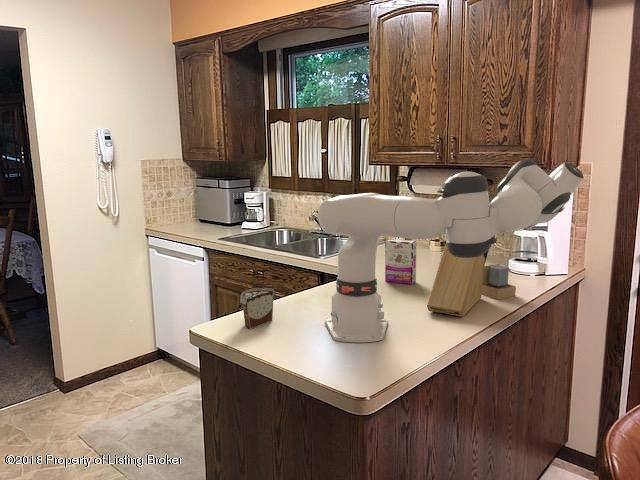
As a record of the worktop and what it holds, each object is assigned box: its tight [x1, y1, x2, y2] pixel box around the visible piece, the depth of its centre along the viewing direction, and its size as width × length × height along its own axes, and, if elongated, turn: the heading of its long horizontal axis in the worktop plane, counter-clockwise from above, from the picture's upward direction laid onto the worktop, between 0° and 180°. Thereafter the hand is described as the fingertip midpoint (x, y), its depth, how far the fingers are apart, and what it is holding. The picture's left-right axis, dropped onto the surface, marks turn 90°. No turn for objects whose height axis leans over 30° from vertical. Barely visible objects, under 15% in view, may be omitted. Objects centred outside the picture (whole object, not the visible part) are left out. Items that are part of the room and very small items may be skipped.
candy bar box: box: [384, 238, 417, 286], centre depth 204 cm, size 11×5×16 cm, turn 62°
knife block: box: [426, 243, 490, 317], centre depth 176 cm, size 11×35×31 cm, turn 149°
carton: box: [482, 263, 517, 300], centre depth 186 cm, size 8×8×10 cm
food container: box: [239, 287, 276, 330], centre depth 160 cm, size 12×6×10 cm, turn 141°
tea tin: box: [488, 265, 510, 289], centre depth 186 cm, size 5×5×10 cm
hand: (516, 229), depth 180 cm, fingers open, 8 cm apart
